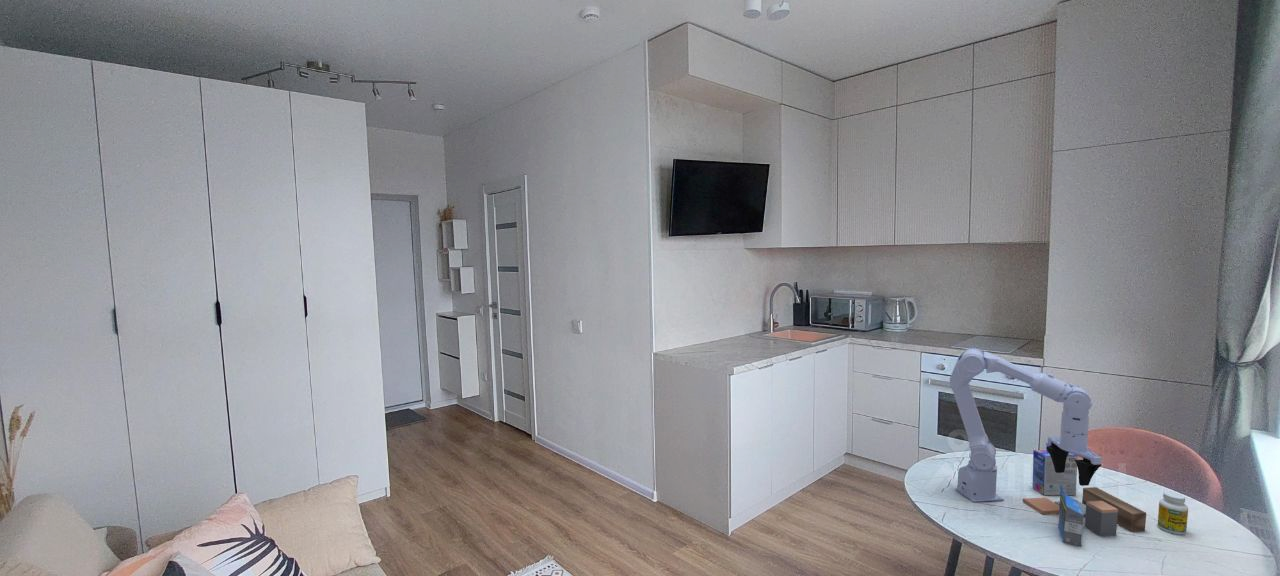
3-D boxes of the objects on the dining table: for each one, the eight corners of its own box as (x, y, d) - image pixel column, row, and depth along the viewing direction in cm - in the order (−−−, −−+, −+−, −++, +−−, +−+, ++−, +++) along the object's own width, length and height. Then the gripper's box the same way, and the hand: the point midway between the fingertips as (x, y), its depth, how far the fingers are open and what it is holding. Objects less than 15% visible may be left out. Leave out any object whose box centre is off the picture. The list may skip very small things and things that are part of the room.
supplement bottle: (1177, 525, 138) (1180, 491, 137) (1191, 536, 133) (1195, 501, 132) (1152, 522, 140) (1155, 488, 139) (1165, 533, 135) (1168, 498, 134)
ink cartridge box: (1062, 486, 160) (1065, 441, 159) (1077, 495, 155) (1080, 449, 153) (1030, 487, 160) (1032, 441, 159) (1043, 495, 155) (1046, 449, 154)
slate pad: (1076, 517, 143) (1076, 514, 143) (1054, 504, 150) (1054, 501, 150) (1099, 516, 143) (1100, 513, 143) (1077, 503, 150) (1077, 500, 150)
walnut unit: (1130, 531, 136) (1132, 513, 135) (1081, 504, 150) (1083, 487, 149) (1146, 530, 136) (1147, 512, 136) (1096, 503, 150) (1097, 487, 150)
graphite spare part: (1100, 536, 134) (1102, 510, 133) (1084, 527, 138) (1086, 501, 138) (1116, 535, 134) (1118, 509, 134) (1100, 526, 139) (1101, 500, 138)
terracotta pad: (1042, 514, 145) (1042, 511, 145) (1022, 501, 152) (1022, 498, 152) (1066, 513, 145) (1066, 509, 145) (1045, 500, 152) (1045, 497, 152)
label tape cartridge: (1082, 547, 130) (1085, 500, 128) (1062, 542, 132) (1065, 496, 131) (1075, 529, 137) (1078, 485, 136) (1057, 525, 139) (1059, 481, 138)
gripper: (1113, 440, 135) (1110, 490, 137) (1064, 421, 150) (1062, 466, 151) (1088, 441, 135) (1084, 491, 136) (1041, 422, 149) (1039, 467, 151)
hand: (1071, 478), depth 143 cm, fingers open, 7 cm apart
